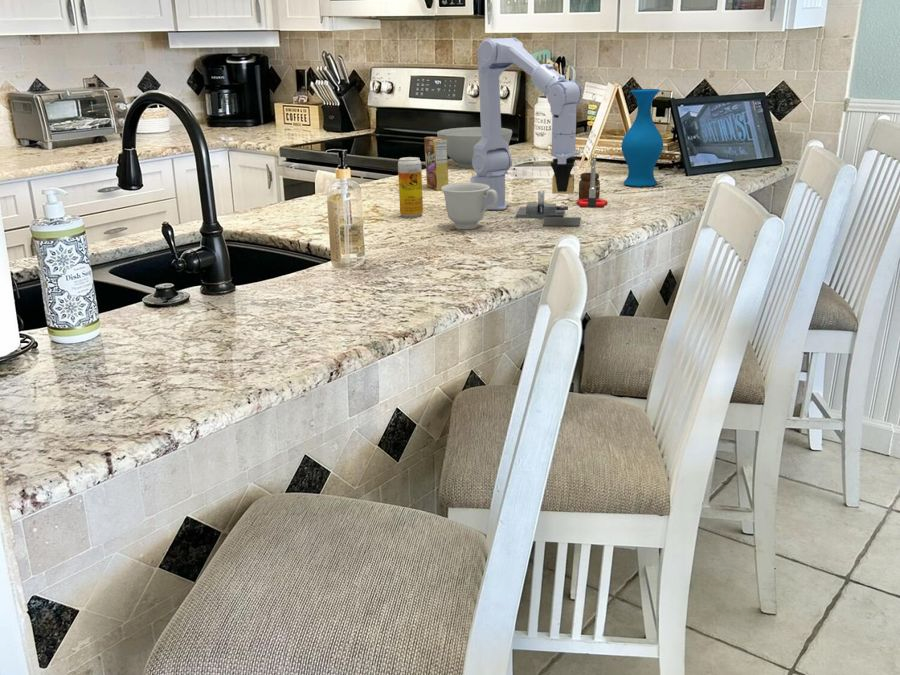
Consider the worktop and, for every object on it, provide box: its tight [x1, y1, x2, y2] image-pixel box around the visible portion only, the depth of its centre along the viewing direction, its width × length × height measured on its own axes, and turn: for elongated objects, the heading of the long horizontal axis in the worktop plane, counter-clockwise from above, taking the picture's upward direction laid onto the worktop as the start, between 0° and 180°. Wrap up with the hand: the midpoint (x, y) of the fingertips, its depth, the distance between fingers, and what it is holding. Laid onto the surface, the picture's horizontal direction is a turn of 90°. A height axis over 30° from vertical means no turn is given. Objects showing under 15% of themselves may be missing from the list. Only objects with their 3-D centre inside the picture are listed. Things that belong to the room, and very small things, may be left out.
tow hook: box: [576, 158, 609, 208], centre depth 230 cm, size 8×13×9 cm
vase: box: [621, 88, 664, 188], centre depth 253 cm, size 12×13×28 cm
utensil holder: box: [578, 154, 601, 200], centre depth 238 cm, size 6×6×12 cm
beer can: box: [397, 156, 424, 219], centre depth 221 cm, size 6×6×15 cm
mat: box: [542, 216, 582, 228], centre depth 211 cm, size 9×9×1 cm
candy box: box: [423, 136, 449, 192], centre depth 259 cm, size 9×4×15 cm, turn 23°
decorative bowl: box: [436, 126, 513, 169], centre depth 301 cm, size 27×27×12 cm
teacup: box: [441, 182, 498, 230], centre depth 207 cm, size 12×15×10 cm
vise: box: [515, 190, 569, 219], centre depth 220 cm, size 13×10×6 cm
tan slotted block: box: [551, 173, 575, 195], centre depth 208 cm, size 5×5×4 cm
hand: (562, 189), depth 208 cm, fingers closed on tan slotted block, 5 cm apart
